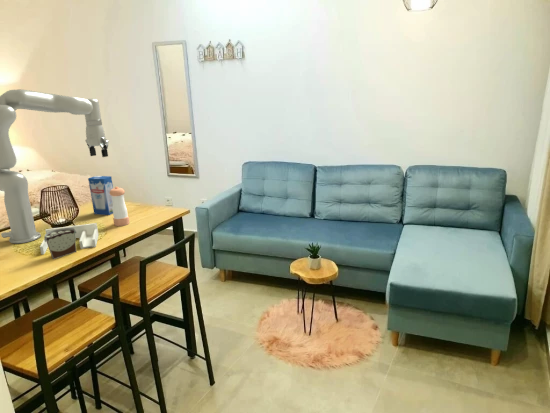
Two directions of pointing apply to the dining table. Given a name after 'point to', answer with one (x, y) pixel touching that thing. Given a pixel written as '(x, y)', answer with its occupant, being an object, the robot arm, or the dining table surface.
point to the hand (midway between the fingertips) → (99, 156)
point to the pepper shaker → (119, 207)
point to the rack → (79, 236)
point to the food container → (61, 242)
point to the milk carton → (101, 194)
